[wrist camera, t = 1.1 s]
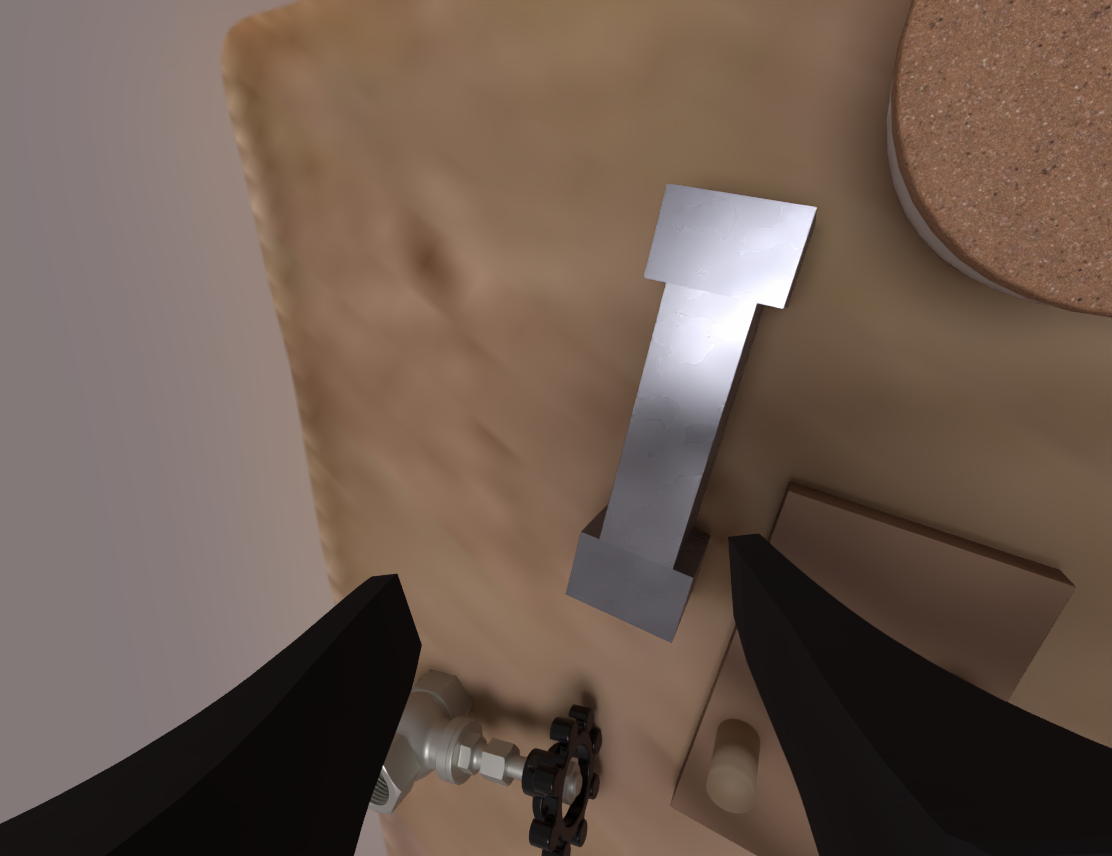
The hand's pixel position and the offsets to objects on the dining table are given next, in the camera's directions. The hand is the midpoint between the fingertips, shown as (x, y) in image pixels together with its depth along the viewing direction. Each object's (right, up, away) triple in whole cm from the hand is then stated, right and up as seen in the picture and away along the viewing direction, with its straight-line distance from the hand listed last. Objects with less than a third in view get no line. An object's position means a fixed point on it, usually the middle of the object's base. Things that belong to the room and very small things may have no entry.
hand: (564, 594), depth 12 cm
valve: (-3, -13, +20) cm, 23 cm away
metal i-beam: (+5, +4, +11) cm, 13 cm away
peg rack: (+11, -8, +11) cm, 18 cm away
